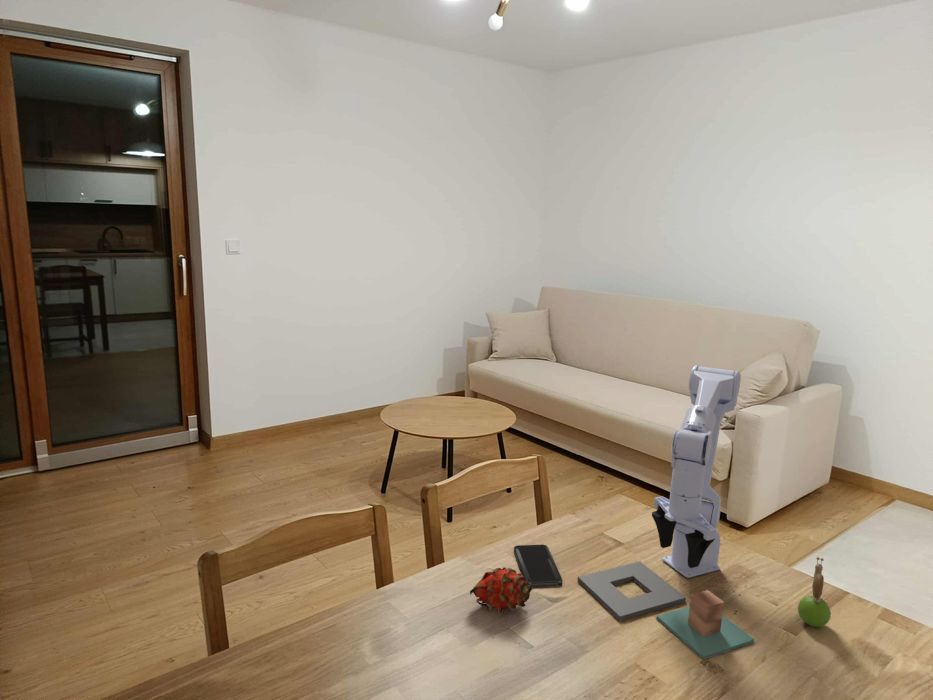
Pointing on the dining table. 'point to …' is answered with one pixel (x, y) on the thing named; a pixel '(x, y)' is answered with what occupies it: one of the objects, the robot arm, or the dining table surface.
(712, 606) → the terracotta block
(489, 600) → the dragon fruit
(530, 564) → the phone
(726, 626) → the teal mat
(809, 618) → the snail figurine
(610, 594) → the charcoal pocket board
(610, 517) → the dining table surface
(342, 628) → the dining table surface
